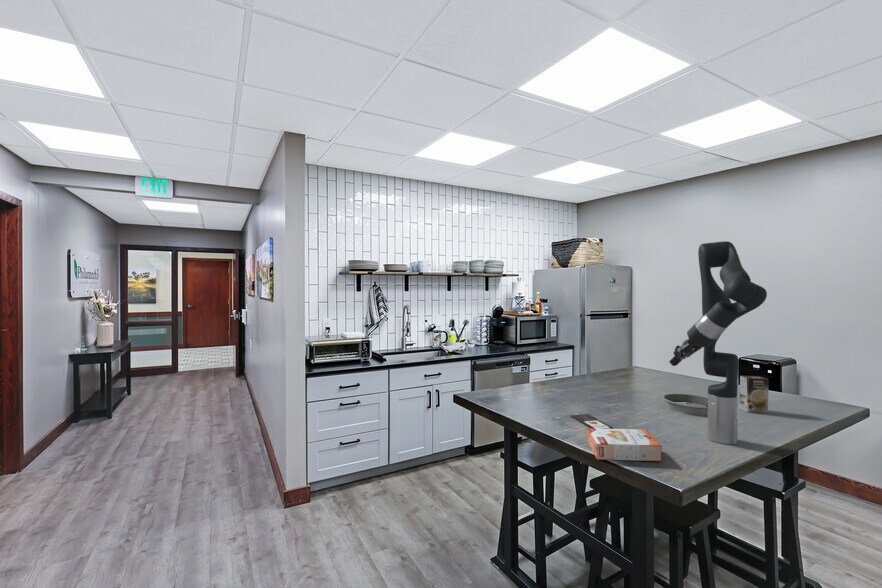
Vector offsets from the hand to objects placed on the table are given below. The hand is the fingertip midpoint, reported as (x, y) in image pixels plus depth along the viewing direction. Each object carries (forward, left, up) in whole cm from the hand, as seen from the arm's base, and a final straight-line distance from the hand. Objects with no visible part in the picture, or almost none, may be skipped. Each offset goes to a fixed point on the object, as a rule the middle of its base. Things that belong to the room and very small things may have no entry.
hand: (672, 363), depth 145 cm
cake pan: (-6, -66, -32) cm, 73 cm away
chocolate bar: (+31, -19, -32) cm, 49 cm away
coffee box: (-31, -77, -31) cm, 89 cm away
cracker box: (+5, +5, -27) cm, 28 cm away
